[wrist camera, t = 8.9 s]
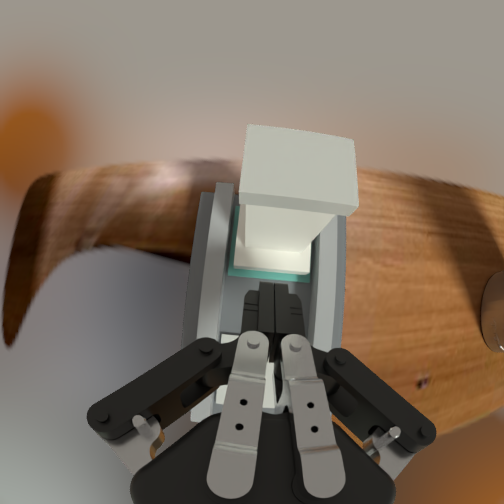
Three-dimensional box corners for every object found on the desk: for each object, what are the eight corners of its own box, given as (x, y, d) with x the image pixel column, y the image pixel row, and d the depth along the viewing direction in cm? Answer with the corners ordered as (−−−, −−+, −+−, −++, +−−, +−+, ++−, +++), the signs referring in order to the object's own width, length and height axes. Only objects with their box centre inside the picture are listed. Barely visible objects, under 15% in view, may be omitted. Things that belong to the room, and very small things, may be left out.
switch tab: (241, 206, 19) (239, 108, 10) (308, 213, 19) (360, 125, 10) (234, 268, 18) (223, 213, 9) (305, 275, 19) (370, 230, 9)
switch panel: (204, 202, 22) (198, 180, 19) (337, 216, 22) (353, 198, 19) (183, 401, 19) (171, 417, 15) (323, 411, 19) (338, 427, 15)
